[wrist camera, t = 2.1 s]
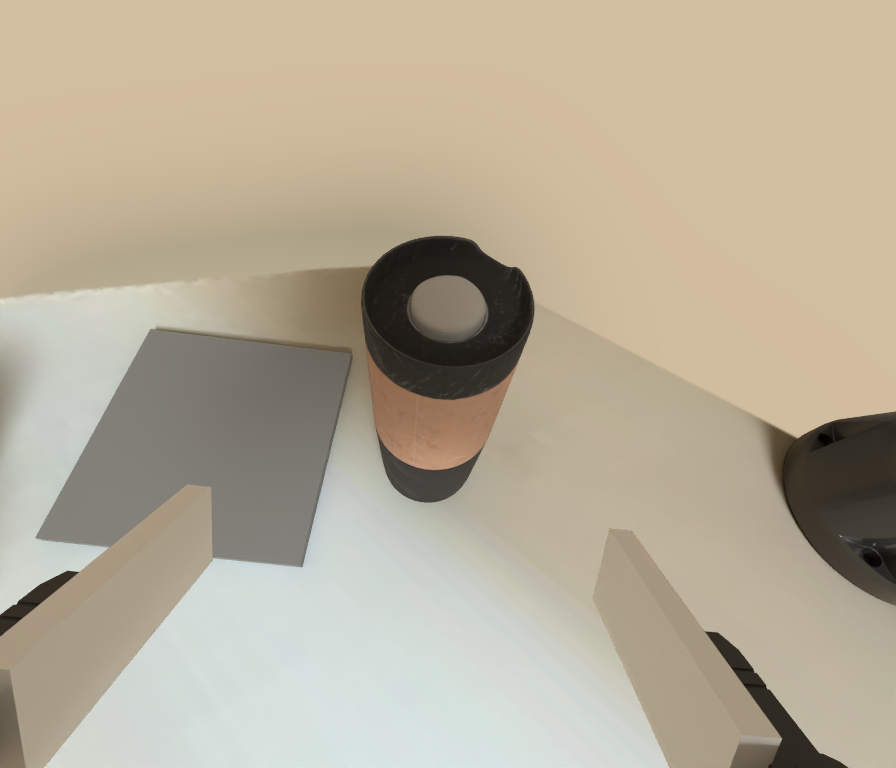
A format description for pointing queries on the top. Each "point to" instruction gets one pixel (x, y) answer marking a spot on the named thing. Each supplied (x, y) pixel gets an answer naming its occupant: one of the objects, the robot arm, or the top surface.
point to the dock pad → (210, 445)
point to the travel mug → (440, 357)
